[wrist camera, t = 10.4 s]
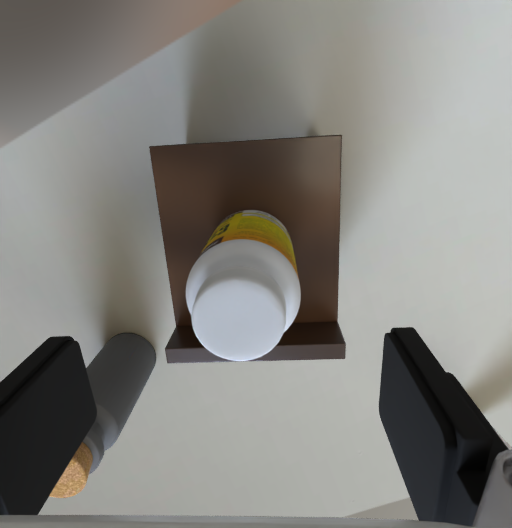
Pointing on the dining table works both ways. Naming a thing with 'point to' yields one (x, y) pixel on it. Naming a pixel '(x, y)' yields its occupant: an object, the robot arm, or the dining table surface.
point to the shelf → (266, 200)
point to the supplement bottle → (244, 287)
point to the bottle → (108, 404)
